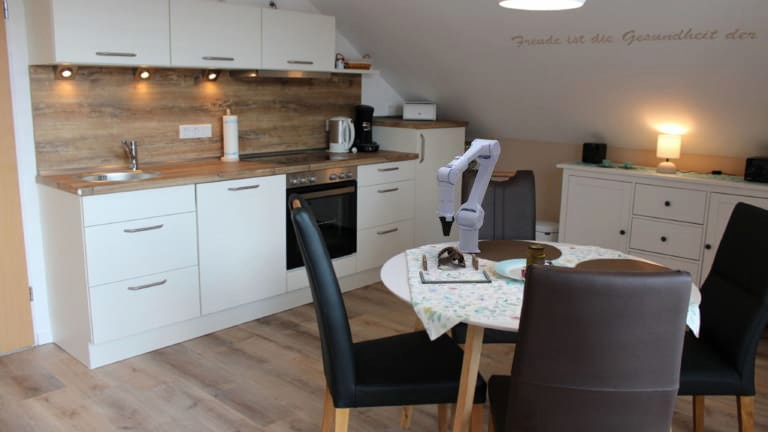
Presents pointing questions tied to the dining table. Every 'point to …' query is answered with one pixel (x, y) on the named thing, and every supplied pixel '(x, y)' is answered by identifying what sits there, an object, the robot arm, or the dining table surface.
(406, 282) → the dining table surface
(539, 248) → the condiment
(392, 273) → the dining table surface
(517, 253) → the dining table surface
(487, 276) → the frame
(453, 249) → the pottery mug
